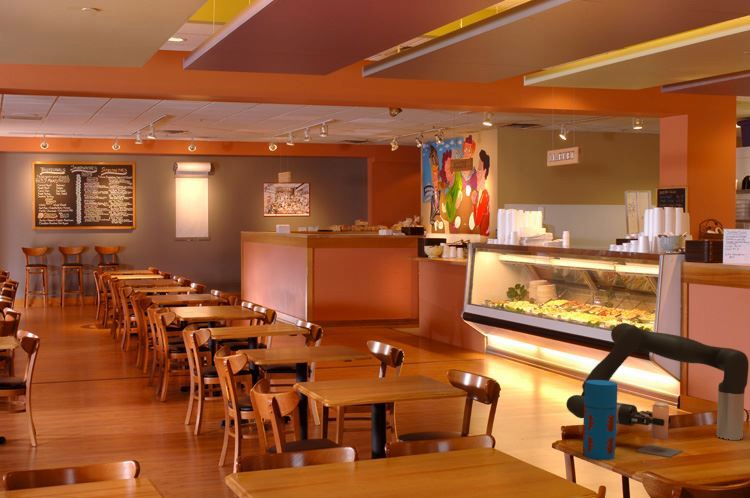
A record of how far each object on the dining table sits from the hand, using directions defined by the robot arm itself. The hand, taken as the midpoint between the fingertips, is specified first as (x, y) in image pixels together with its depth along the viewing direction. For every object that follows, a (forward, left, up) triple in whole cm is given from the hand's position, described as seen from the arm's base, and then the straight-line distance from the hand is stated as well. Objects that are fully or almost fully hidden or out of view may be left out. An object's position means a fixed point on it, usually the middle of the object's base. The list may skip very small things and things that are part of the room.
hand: (667, 421), depth 329 cm
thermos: (+21, -15, -11) cm, 28 cm away
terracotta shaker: (0, -3, -6) cm, 7 cm away
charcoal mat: (0, -2, -11) cm, 11 cm away
